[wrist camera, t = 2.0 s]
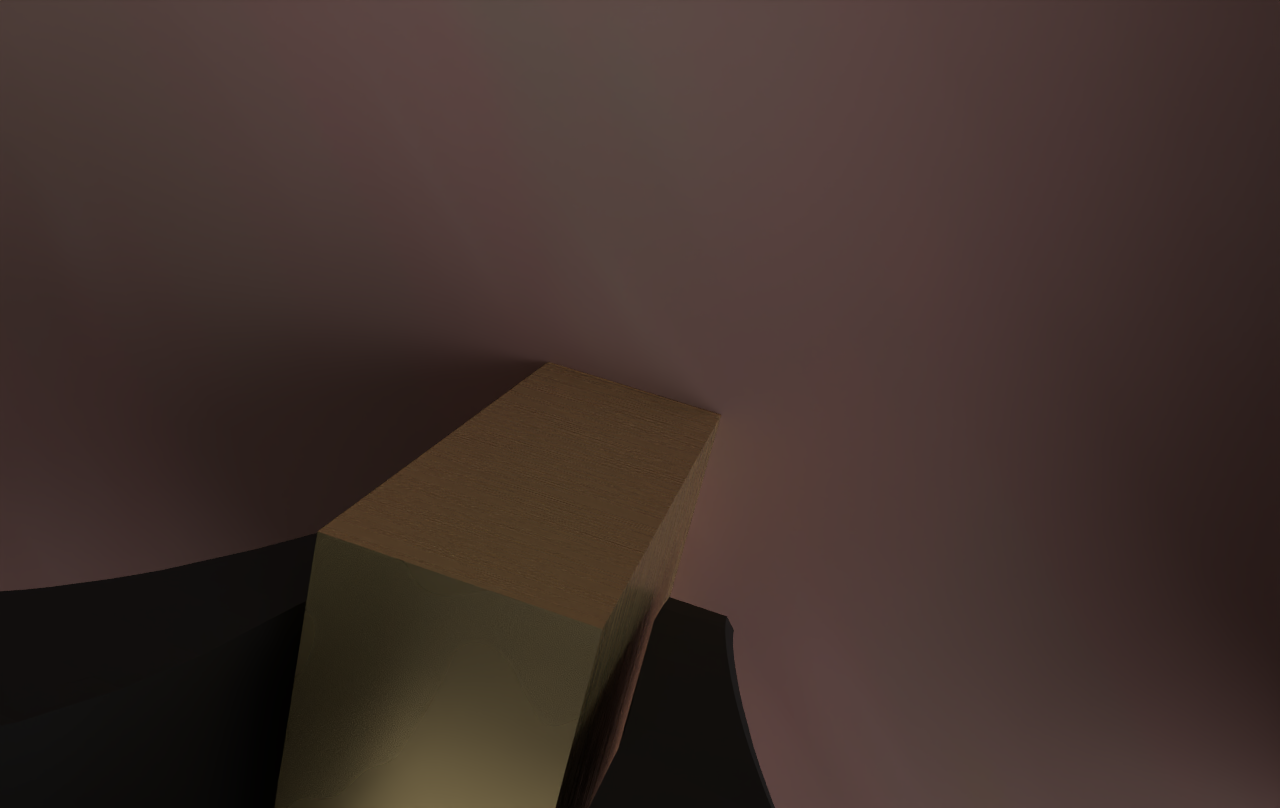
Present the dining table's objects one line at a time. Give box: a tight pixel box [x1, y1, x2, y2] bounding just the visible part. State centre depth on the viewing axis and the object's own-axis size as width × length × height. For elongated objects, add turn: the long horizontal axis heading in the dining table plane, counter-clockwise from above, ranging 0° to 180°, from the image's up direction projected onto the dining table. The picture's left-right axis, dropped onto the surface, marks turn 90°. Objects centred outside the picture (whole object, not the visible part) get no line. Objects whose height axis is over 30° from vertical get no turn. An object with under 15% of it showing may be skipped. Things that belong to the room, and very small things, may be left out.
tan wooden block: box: [274, 362, 721, 808], centre depth 10 cm, size 5×2×5 cm, turn 166°
